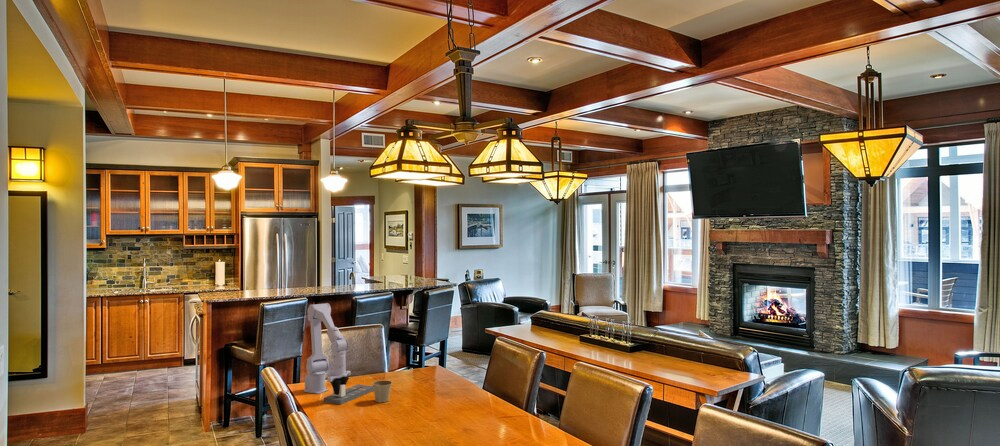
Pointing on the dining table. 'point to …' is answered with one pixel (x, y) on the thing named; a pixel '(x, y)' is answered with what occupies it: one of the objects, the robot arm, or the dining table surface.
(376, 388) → the flower pot
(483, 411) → the dining table surface
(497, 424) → the dining table surface
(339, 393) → the fader
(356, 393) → the console
